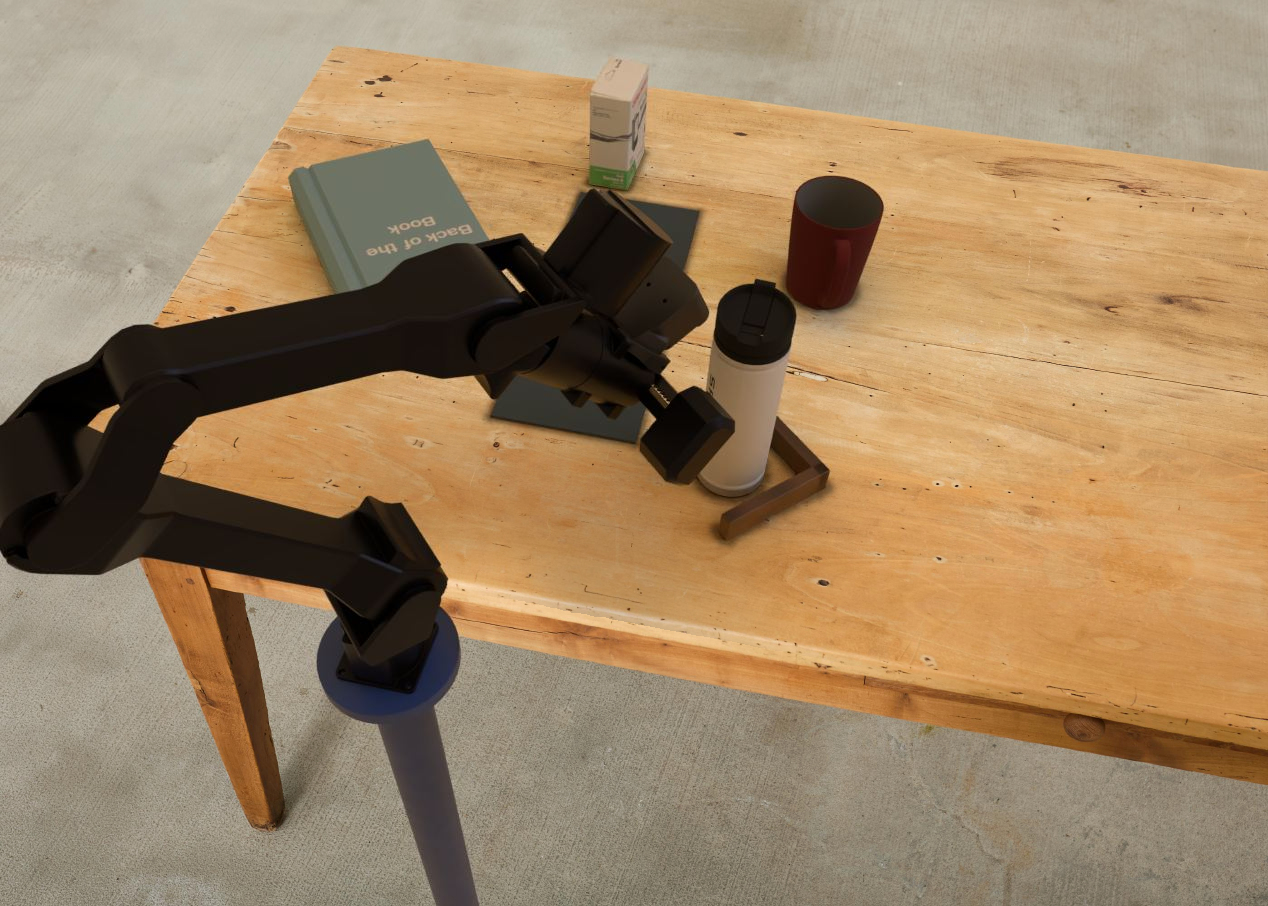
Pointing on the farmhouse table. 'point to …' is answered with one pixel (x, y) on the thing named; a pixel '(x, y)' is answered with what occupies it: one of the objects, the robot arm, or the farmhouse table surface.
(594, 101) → the ink box
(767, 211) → the farmhouse table surface
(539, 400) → the desk mat
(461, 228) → the book
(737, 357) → the travel mug
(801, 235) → the mug
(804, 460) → the u-shaped bracket
